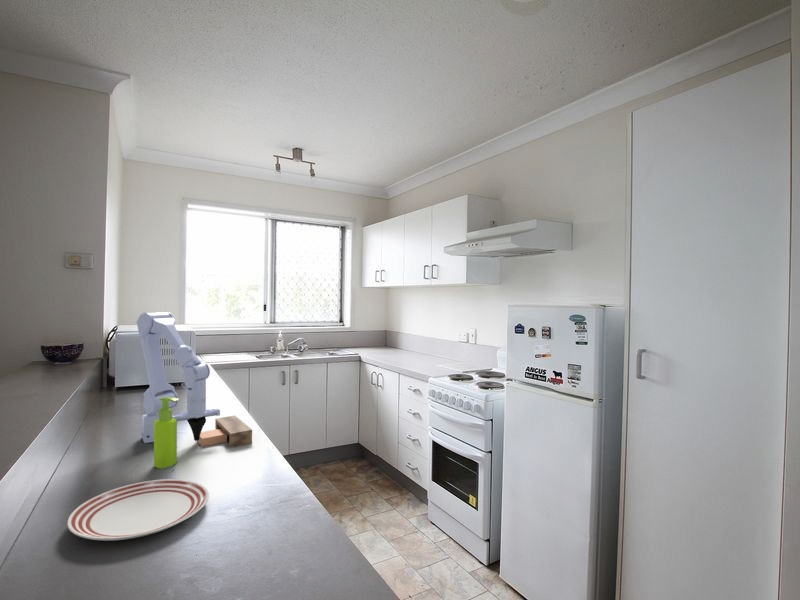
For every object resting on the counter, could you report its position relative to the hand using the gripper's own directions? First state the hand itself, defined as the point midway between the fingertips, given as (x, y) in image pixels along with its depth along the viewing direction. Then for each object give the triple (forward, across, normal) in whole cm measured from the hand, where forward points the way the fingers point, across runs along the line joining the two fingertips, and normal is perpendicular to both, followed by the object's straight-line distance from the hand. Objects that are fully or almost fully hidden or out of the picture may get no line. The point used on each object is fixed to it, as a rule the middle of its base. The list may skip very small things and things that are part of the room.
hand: (196, 439), depth 142 cm
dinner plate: (+2, -19, -42) cm, 46 cm away
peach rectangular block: (+1, +5, 0) cm, 5 cm away
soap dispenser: (+2, -11, -13) cm, 17 cm away
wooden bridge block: (+1, +11, 0) cm, 11 cm away
